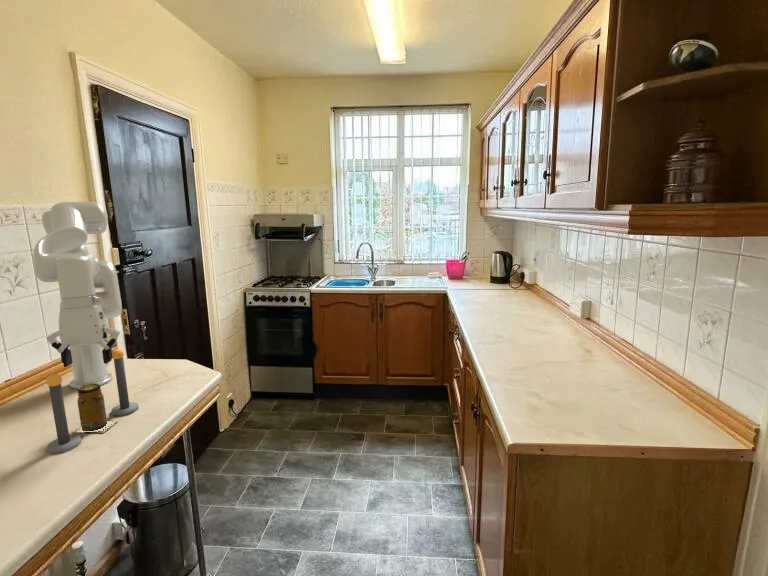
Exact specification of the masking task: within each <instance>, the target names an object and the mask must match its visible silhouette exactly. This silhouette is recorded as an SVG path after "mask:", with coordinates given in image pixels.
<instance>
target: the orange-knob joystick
mask: <svg viewBox="0 0 768 576" xmlns="http://www.w3.org/2000/svg"><path fill="white" fill-rule="evenodd" d="M62 381H63V377H62V376H61V375H60V374H59V373H58V374H57V373H53V374H50V375H49V376H47V377H46V379H45V383H46V385H47V386H48V390H49V394H50V396H49V397H50V403H51V406H52V407H51V408H52V412H53V414H52V415H53V419H54V424H55V431H56V438H55V439H54V440H52V441H51V442H49V443H48V444H47V446H46V448H47V452H48V451H49V452H51V453H50V454H59V453H58V452H62V453H65V452H64V451H66V452H69V451H71V449H72V450H73V448H74V449H75V447H76V448H78V446H80V445H81V443H82V438H81V436H80V435H78V434H70V432H69V427H68V420H67V414H66V409H65V402H64V396H63V389H62ZM79 444H80V445H79ZM68 450H69V451H68ZM49 452H48V453H49Z"/></svg>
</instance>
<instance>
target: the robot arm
mask: <svg viewBox="0 0 768 576" xmlns="http://www.w3.org/2000/svg"><path fill="white" fill-rule="evenodd" d="M41 222H42V226H43V229H44V231H45V233H46V235H44V236H43V237H42V238H40V240H39V241H37V242H36V244H35V246H34V248H33V255H32V256H33V270H34V273H35V276H36V278H37V279H38V280H40V282H43V283H55V282H56V283H58V289H59V295H60V302H59V315H58V330H57V331H55V332H54V333H51V334H50V335H48V336H46V340H47V341H48V342H49V344H50V345H51V347H52V348H53V349H55V350H57V352H58V353H59V354H60V359H61V363H62V364H63V367H64V368H67V367H69V366H70V365H71V368H72V375H73V377H74V378H72V379H71V380H70V381H69V388H71V389H75V390H78V389H79V388H80V387H82V386H84V385H87V384H99V385H100V386H102V385H105V384H107V383H109V382H110V381H112V379H114V378H113V373H111V372H107V367H109V363H110V362H111V361H112V359H113V357H112V352H113V350H112V347H113V346H114V345H115V343H117V341H118V339H119V337H120V336H121V335H120V334H121V331H120V330H117V329H115V328H112V327H109V326H108V324H107V319H113V318H117V317H120V315H121V314H122V311H123V306H122V305H123V304H122V298H121V291H120V285H119V279H118V273H117V269H116V267H115V265H114V263H113V262H111V261H108V260H99V259H98V257H96V256H95V255H94V254H93V253H91V252H89V250H88V247H87V246H86V245H85V244H86V242H88V237H89V236H88V235H101V234H103V233H105V232H106V230H107V226H108V223H109V222H108V214H107V211H106V208H105V207H104V206H103V205H102V204H101V203H99V202H96V201H62V202H58V203H55V204H54V205H52V206H51V208H50V209H49V210H47V211H45V212H43V213H42V215H41ZM95 289H102V290H103V291H96V290H95ZM109 335H111V339H110V340H109V339H108V337H109ZM58 337H59V339H60V341H58V339H57V338H58Z"/></svg>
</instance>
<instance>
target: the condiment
mask: <svg viewBox="0 0 768 576" xmlns="http://www.w3.org/2000/svg"><path fill="white" fill-rule="evenodd" d="M101 386H102V385H99V384H87V385H84V386H82V387H80V388H79V389H77V396H78V398H77V408H78V414H79V420H80V428H81V427H82V430H83V431H94V430H98V429H101V428H103V427H104V426H106V424H107V420H108V418H107V412H106V405H105V398H104V394H103V392H102V389H101V388H102V387H101ZM110 420H111V421H112V422H113V423H114V422H115V421H116V422H117V423H118V422H120V421H121V420H120V419H110ZM114 420H115V421H114ZM116 422H115V423H116ZM117 423H116V424H117ZM116 424H113V425H114V426H115V425H116ZM111 425H112V424H111ZM113 425H112V427H114V426H113ZM108 427H109V426H108ZM110 427H111V426H110ZM110 427H109V428H110ZM112 427H111V428H112ZM105 428H106V427H105ZM109 428H107V429H109ZM111 428H110V429H111ZM110 429H109V430H110ZM76 431H77V430H75V431H74V432H73V434H78V433H77V432H76ZM75 432H76V433H75ZM106 432H108V430H106V429H105V431H104V429H103V431H98V432H97V433H96V432H95V433H94V432H90V433H92V434H99V433H102V434H103V433H106ZM90 433H89V434H90ZM84 434H87V433H86V432H85V433H84Z"/></svg>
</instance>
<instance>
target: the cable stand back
mask: <svg viewBox="0 0 768 576" xmlns="http://www.w3.org/2000/svg"><path fill="white" fill-rule="evenodd" d="M124 357H125V351H124V350H123V349H121V348H115V349H113V350H112V359H113V363H114V371H115V378H116V380H115V381H116V385H117V392H118V393H117V394H118V395H117V396H118V402H119V404H117V405H116V406H114V407H113V408H111V415H112V416H113V417H123V416H128V415H131V414H134V413H136V412H137V411H138V410H139V403H138V402H134V401H133V402H131V401H130V400H129V391H128V382H127V377H126V370H125V369H126V368H125V362H124V361H125V360H124ZM135 411H136V412H135Z"/></svg>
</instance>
